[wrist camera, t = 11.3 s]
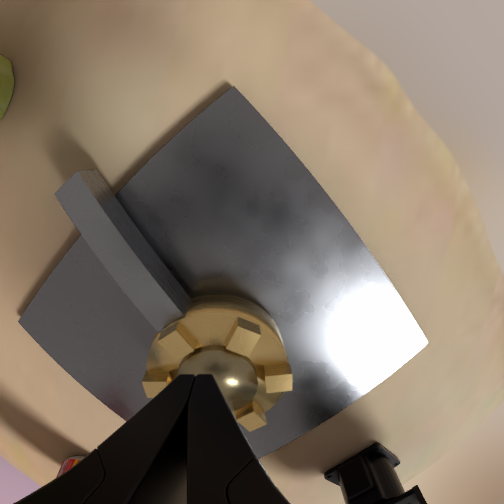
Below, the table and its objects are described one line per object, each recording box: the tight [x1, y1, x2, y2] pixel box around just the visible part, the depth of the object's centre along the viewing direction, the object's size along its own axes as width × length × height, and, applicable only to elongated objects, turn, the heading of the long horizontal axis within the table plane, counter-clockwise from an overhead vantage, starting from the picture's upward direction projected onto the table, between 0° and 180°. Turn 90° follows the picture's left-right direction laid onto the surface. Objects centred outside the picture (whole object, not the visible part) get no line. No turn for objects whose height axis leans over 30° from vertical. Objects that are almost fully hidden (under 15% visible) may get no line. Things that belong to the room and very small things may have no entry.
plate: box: [18, 86, 428, 459], centre depth 20 cm, size 22×22×1 cm
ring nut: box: [55, 169, 292, 432], centre depth 16 cm, size 17×8×4 cm, turn 34°
